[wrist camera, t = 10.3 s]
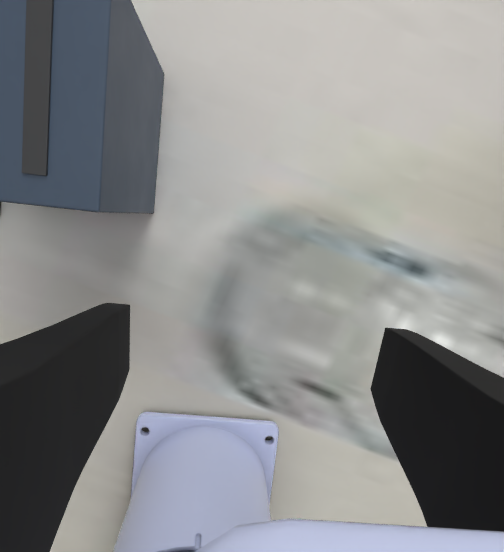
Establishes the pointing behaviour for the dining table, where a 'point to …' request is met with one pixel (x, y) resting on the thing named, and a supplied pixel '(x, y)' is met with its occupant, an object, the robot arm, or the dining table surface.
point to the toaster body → (78, 106)
